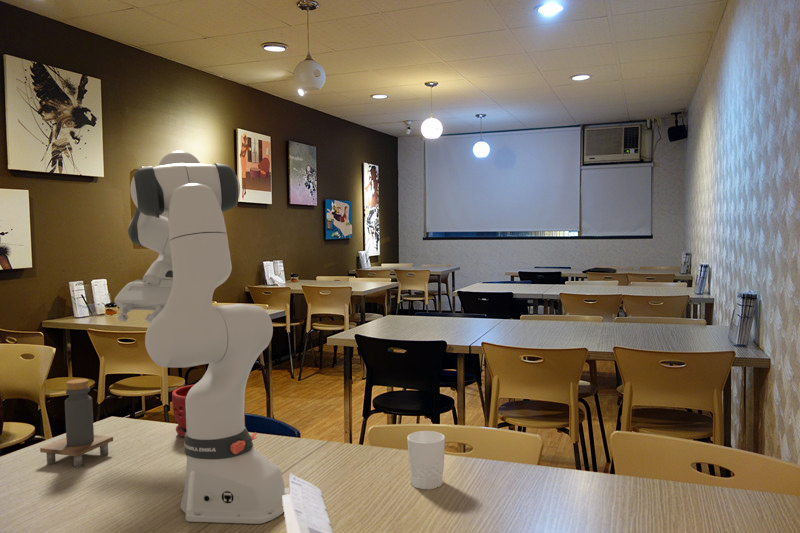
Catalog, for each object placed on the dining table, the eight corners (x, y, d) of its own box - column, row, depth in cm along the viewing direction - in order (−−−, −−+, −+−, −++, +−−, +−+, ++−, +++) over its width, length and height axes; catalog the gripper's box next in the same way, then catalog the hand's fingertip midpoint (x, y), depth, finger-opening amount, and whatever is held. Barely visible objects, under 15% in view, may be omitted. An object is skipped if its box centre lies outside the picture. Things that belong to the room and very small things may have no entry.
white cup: (453, 482, 130) (452, 435, 129) (428, 494, 124) (428, 445, 123) (424, 473, 135) (424, 428, 135) (400, 484, 129) (399, 437, 129)
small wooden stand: (113, 452, 152) (113, 436, 151) (78, 469, 141) (77, 452, 141) (78, 449, 155) (77, 433, 155) (41, 464, 144) (40, 448, 144)
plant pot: (162, 438, 162) (160, 393, 162) (196, 423, 174) (195, 381, 174) (202, 443, 157) (200, 397, 157) (234, 428, 169) (233, 385, 169)
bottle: (86, 446, 145) (83, 383, 144) (61, 446, 145) (58, 384, 144) (98, 438, 151) (96, 377, 150) (75, 438, 151) (72, 378, 150)
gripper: (125, 272, 170) (97, 312, 161) (184, 273, 162) (158, 314, 154) (138, 287, 174) (112, 326, 166) (196, 288, 167) (171, 329, 158)
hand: (134, 320), depth 160 cm, fingers open, 8 cm apart
